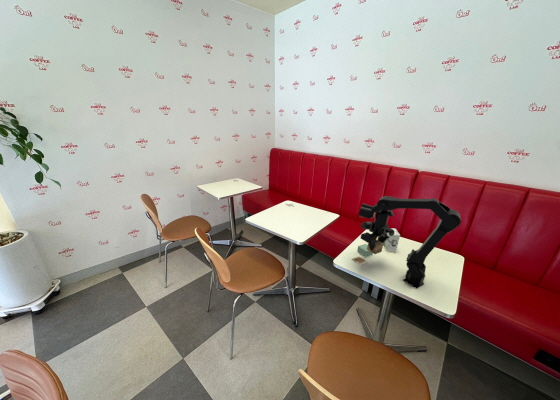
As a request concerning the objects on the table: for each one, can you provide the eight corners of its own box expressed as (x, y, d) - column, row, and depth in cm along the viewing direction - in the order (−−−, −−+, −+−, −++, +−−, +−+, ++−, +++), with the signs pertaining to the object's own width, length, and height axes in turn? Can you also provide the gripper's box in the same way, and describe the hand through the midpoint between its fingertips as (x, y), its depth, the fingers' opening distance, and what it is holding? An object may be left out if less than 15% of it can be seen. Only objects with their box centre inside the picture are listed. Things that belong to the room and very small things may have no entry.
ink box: (382, 244, 134) (386, 227, 130) (390, 244, 134) (395, 228, 130) (387, 252, 126) (391, 234, 122) (396, 252, 126) (400, 235, 122)
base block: (372, 255, 124) (373, 249, 122) (365, 257, 121) (366, 251, 120) (364, 249, 129) (365, 243, 127) (357, 251, 126) (358, 246, 125)
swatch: (367, 262, 117) (367, 261, 117) (360, 265, 114) (360, 264, 114) (358, 256, 122) (359, 255, 121) (351, 259, 119) (351, 258, 119)
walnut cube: (381, 251, 110) (383, 243, 108) (375, 254, 107) (377, 245, 106) (373, 246, 114) (375, 238, 112) (366, 249, 111) (368, 241, 110)
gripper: (378, 211, 115) (373, 237, 121) (354, 218, 107) (349, 245, 112) (398, 220, 107) (391, 247, 112) (373, 228, 98) (367, 257, 103)
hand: (374, 248), depth 110 cm, fingers closed on walnut cube, 5 cm apart
